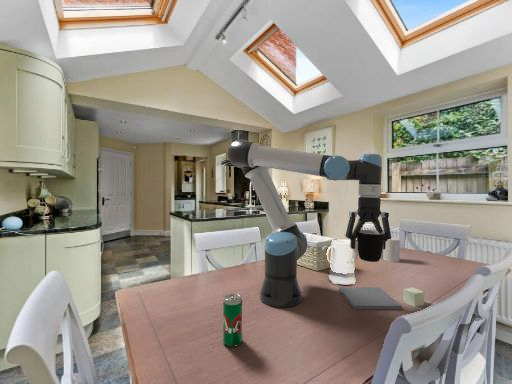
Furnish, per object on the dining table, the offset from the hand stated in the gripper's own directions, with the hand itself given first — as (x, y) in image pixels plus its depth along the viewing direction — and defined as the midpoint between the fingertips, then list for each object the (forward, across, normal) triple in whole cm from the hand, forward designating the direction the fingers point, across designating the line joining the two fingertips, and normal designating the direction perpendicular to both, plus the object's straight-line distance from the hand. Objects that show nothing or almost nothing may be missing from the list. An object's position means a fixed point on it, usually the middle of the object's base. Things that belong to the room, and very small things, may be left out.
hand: (367, 257), depth 95 cm
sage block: (+15, +15, -4) cm, 22 cm away
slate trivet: (+15, 0, -1) cm, 15 cm away
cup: (+15, +36, +49) cm, 63 cm away
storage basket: (+16, -12, +42) cm, 46 cm away
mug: (0, -1, 0) cm, 1 cm away
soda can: (+16, -47, -27) cm, 57 cm away
